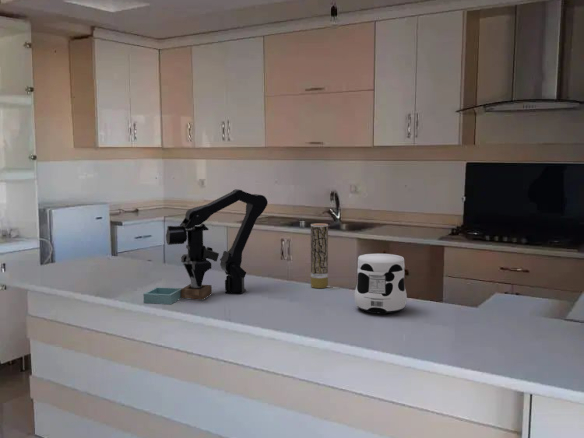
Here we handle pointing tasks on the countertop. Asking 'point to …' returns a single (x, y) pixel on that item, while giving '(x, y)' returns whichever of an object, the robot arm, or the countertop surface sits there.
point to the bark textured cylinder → (319, 255)
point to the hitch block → (196, 292)
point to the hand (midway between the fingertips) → (196, 284)
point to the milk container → (380, 283)
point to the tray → (162, 295)
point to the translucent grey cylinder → (194, 283)
